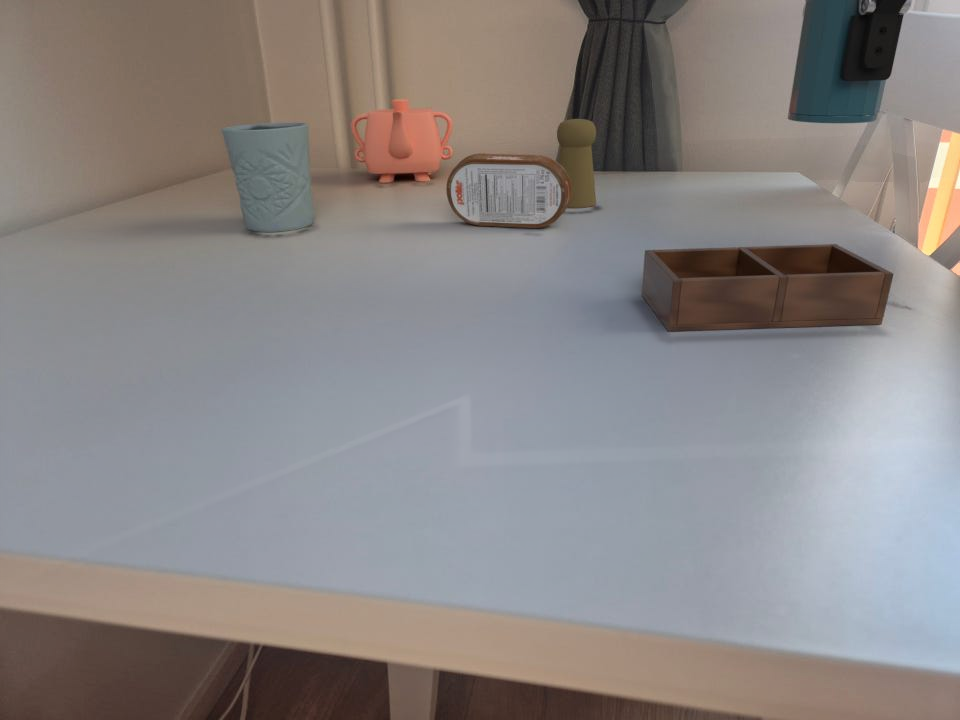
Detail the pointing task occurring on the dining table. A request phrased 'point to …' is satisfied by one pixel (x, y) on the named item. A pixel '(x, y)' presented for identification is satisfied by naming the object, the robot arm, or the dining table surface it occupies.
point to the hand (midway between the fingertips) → (839, 76)
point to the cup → (829, 69)
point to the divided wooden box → (764, 287)
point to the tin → (509, 190)
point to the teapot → (402, 141)
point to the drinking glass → (272, 174)
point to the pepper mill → (578, 160)
